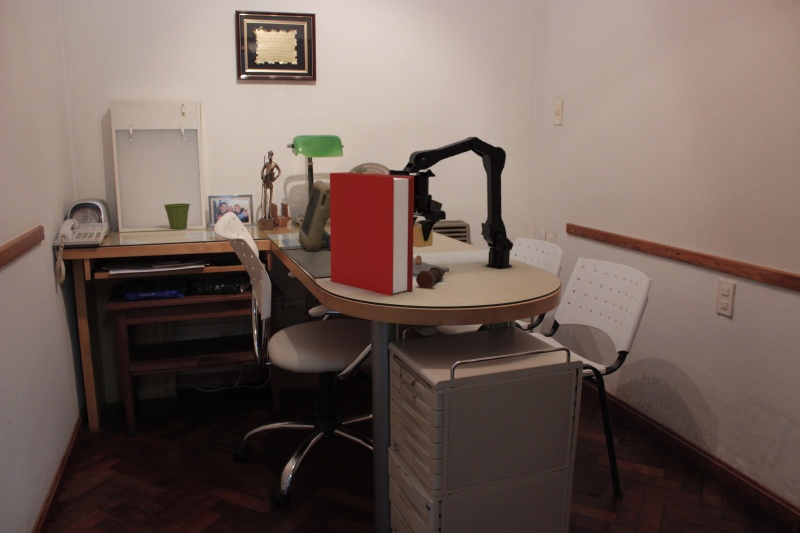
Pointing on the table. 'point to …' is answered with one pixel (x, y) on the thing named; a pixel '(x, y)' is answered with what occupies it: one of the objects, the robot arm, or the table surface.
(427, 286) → the bolt
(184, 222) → the plant pot
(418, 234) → the wooden toy cube
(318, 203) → the rugged handheld device
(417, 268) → the junction plate
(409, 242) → the book
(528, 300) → the table surface
